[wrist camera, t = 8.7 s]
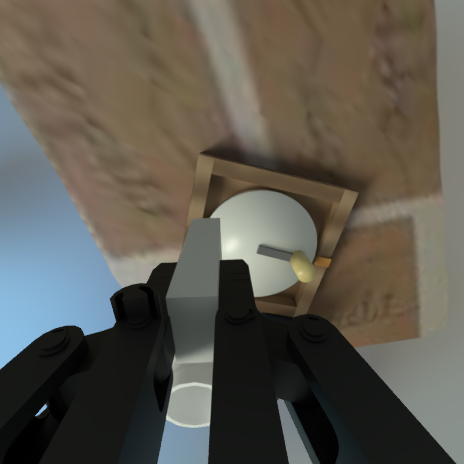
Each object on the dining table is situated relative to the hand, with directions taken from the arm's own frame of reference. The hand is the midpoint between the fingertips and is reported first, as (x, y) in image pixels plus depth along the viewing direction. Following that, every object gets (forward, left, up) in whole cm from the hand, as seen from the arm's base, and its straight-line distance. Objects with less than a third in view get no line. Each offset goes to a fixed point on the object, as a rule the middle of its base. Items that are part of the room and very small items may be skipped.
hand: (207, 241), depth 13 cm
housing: (+8, +8, -23) cm, 26 cm away
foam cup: (+29, +3, -23) cm, 37 cm away
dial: (+8, +8, -21) cm, 24 cm away
